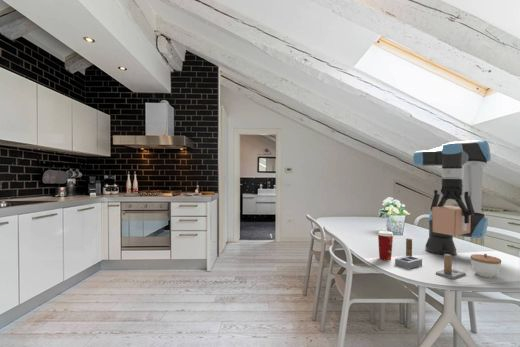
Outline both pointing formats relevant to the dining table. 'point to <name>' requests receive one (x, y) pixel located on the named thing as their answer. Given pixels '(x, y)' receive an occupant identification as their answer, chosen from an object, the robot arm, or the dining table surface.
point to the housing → (448, 220)
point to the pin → (408, 247)
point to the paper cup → (385, 244)
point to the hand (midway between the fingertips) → (451, 228)
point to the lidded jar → (485, 265)
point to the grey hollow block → (408, 262)
